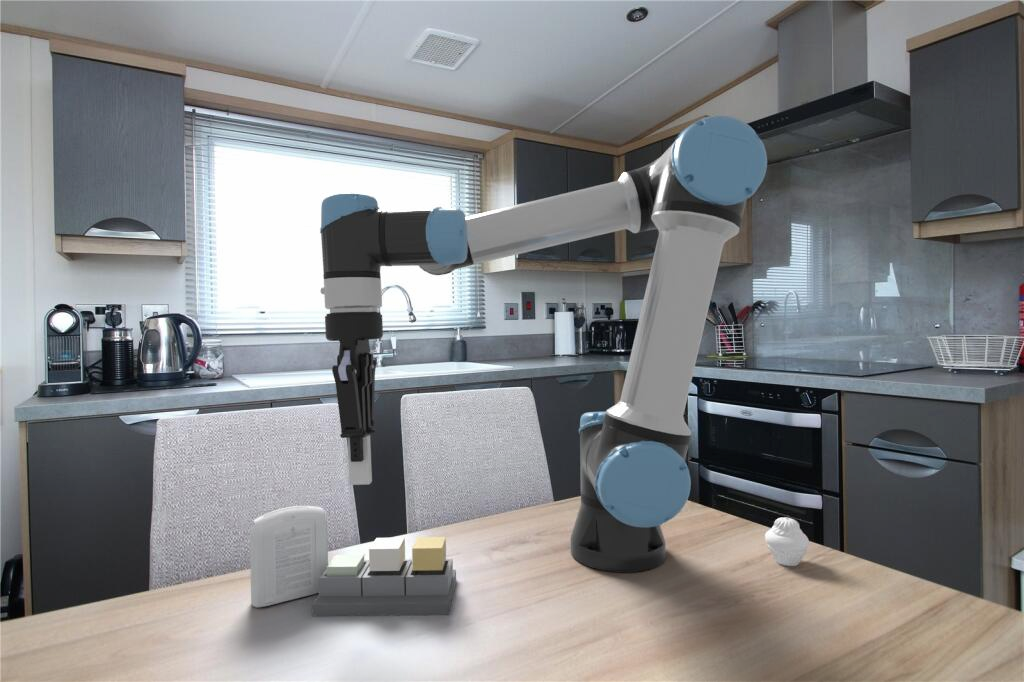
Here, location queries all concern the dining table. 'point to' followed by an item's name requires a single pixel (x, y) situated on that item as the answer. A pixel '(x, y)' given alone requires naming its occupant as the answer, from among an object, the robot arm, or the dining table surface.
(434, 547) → the key ochre
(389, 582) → the keypad
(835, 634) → the dining table surface
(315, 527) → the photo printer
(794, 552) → the muffin
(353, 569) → the key sage
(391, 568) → the key ivory
